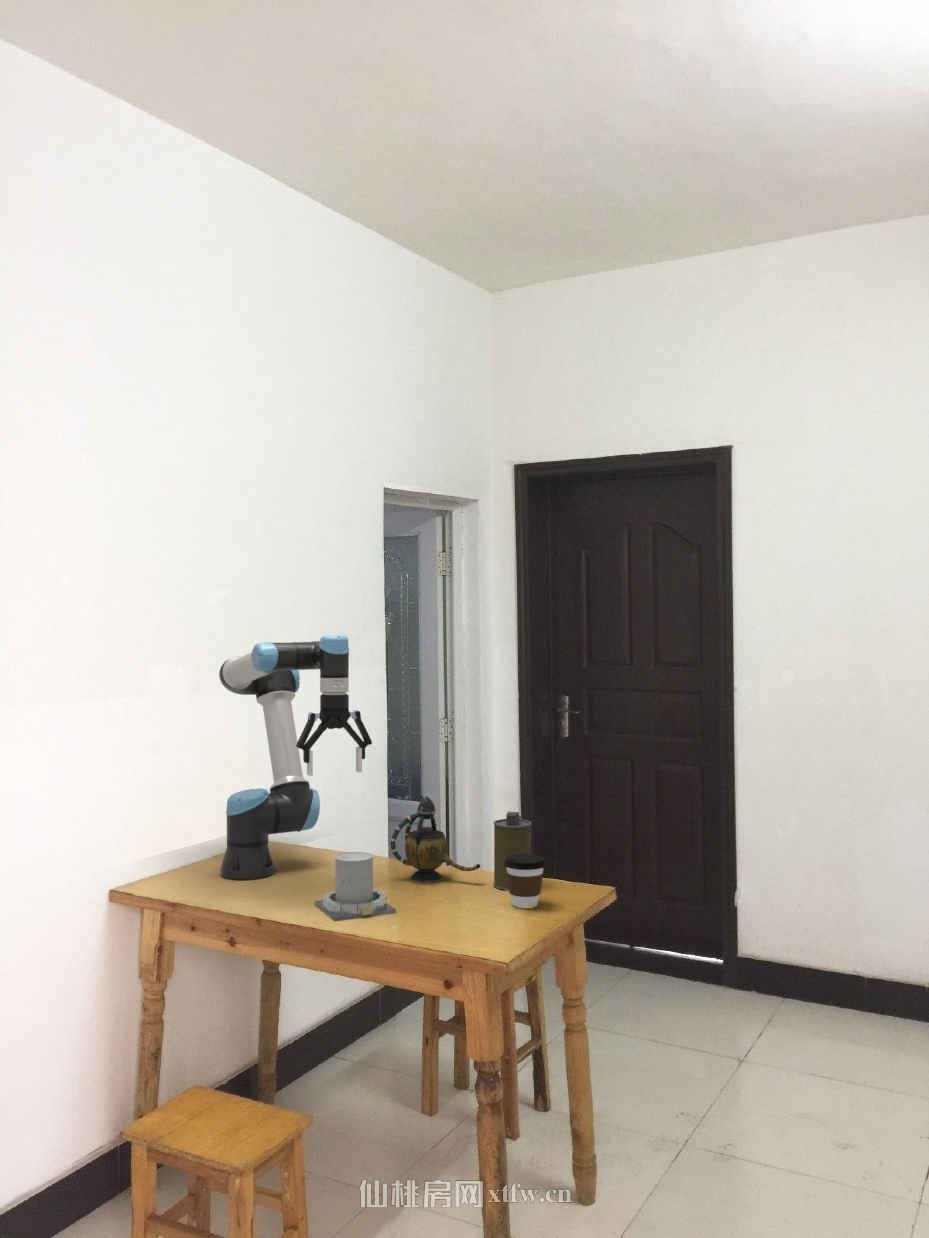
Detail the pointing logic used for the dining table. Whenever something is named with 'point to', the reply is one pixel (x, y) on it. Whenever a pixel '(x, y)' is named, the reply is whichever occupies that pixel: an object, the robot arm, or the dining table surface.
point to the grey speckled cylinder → (354, 877)
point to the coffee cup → (524, 878)
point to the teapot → (425, 846)
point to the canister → (509, 844)
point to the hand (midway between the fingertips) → (334, 773)
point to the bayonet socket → (355, 907)
